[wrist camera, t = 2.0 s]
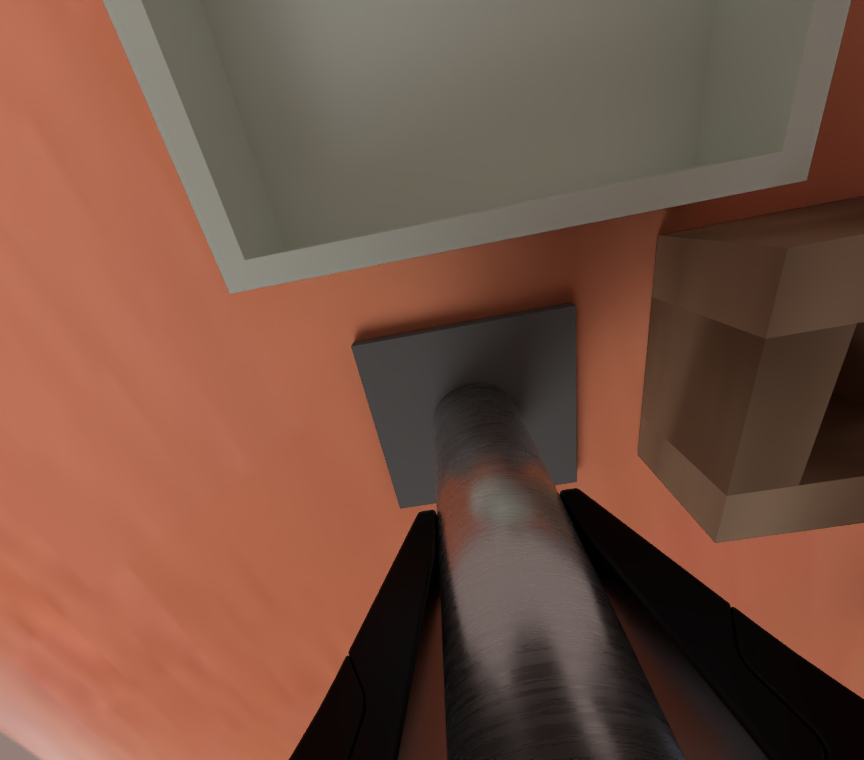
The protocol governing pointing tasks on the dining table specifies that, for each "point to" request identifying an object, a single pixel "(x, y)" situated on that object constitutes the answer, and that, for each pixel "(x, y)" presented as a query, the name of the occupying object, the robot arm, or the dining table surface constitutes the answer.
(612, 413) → the dining table surface
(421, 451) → the mat
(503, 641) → the pin
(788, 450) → the brown hollow block
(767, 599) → the dining table surface
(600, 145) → the tray
